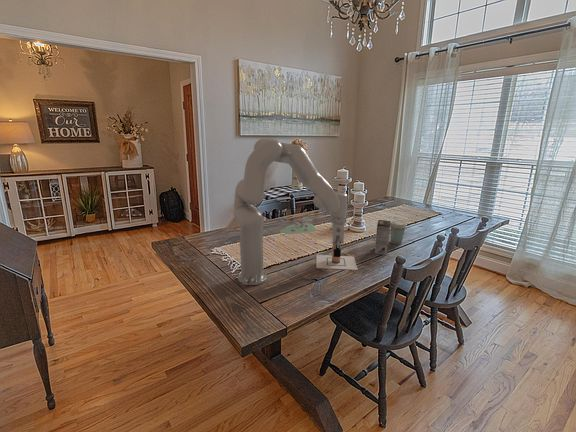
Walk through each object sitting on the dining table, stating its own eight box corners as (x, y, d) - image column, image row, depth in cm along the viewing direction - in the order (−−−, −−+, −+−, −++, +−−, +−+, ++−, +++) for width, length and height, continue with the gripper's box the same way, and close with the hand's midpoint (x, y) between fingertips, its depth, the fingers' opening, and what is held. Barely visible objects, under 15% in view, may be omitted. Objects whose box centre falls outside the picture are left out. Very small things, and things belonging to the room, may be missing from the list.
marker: (340, 263, 146) (341, 240, 143) (331, 263, 147) (332, 240, 143) (339, 260, 150) (341, 237, 147) (331, 259, 151) (332, 237, 147)
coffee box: (376, 247, 168) (378, 219, 163) (388, 249, 166) (391, 220, 161) (374, 253, 160) (376, 224, 155) (386, 255, 157) (390, 225, 153)
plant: (296, 238, 182) (296, 224, 180) (272, 230, 196) (272, 217, 193) (322, 229, 200) (322, 216, 197) (298, 222, 213) (298, 210, 211)
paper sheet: (357, 270, 141) (357, 269, 140) (316, 268, 142) (316, 267, 142) (353, 257, 155) (353, 256, 155) (316, 255, 157) (316, 254, 157)
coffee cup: (390, 239, 181) (392, 219, 177) (405, 241, 176) (407, 222, 173) (386, 243, 174) (388, 223, 170) (402, 246, 169) (404, 226, 166)
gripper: (348, 224, 134) (345, 260, 139) (344, 214, 150) (342, 246, 155) (330, 224, 135) (329, 259, 139) (329, 213, 151) (328, 245, 156)
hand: (336, 252), depth 147 cm, fingers open, 9 cm apart
